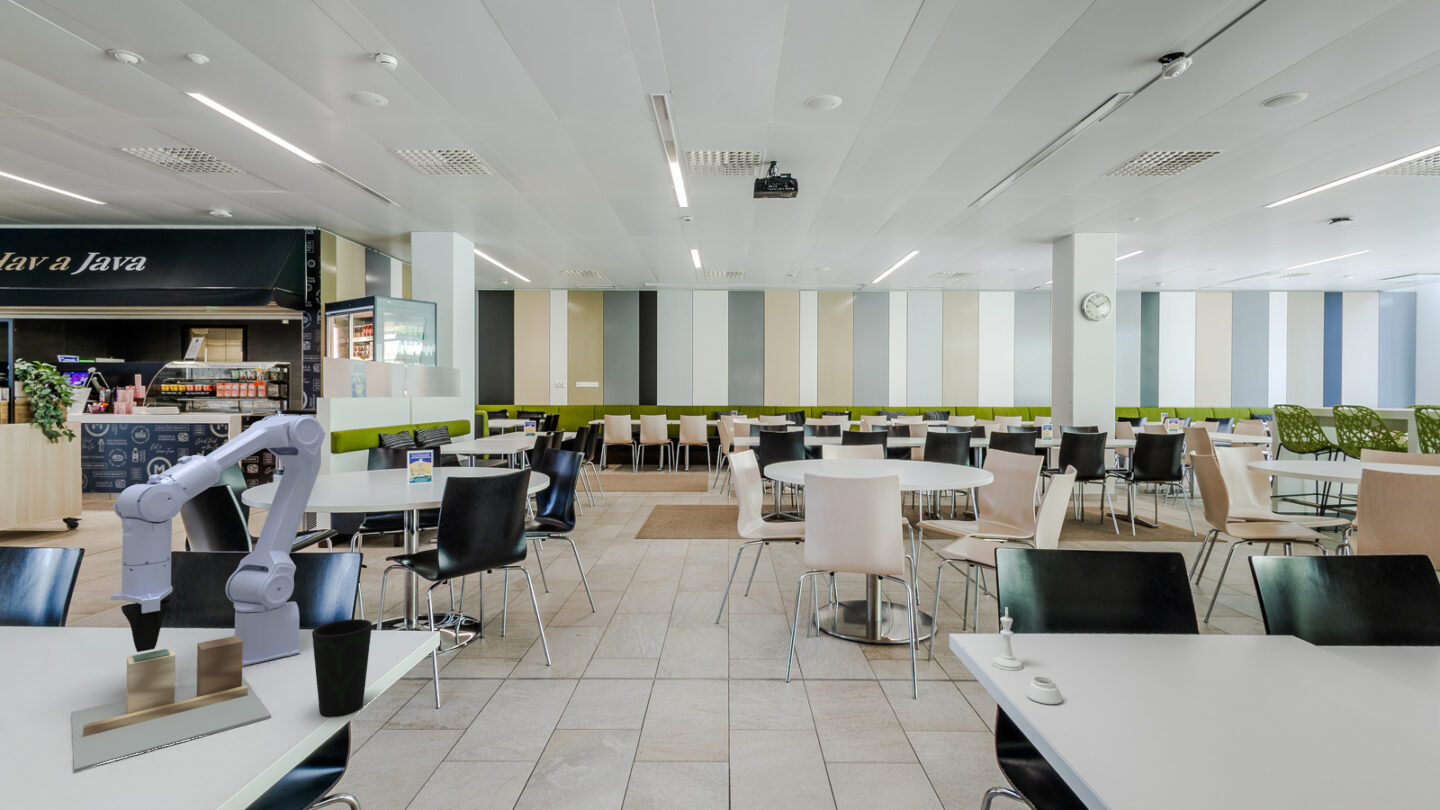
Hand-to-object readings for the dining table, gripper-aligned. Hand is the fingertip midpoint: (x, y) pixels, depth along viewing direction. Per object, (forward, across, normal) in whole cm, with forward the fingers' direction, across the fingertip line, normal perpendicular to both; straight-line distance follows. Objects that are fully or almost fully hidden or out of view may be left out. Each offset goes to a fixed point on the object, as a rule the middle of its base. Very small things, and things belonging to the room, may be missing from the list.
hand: (145, 649), depth 100 cm
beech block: (+7, +9, 0) cm, 11 cm away
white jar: (+8, +100, +96) cm, 139 cm away
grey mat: (+7, +12, +2) cm, 14 cm away
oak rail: (+7, +12, +2) cm, 14 cm away
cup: (+7, +26, +20) cm, 34 cm away
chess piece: (+7, +91, +106) cm, 140 cm away
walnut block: (+7, +9, +8) cm, 14 cm away
